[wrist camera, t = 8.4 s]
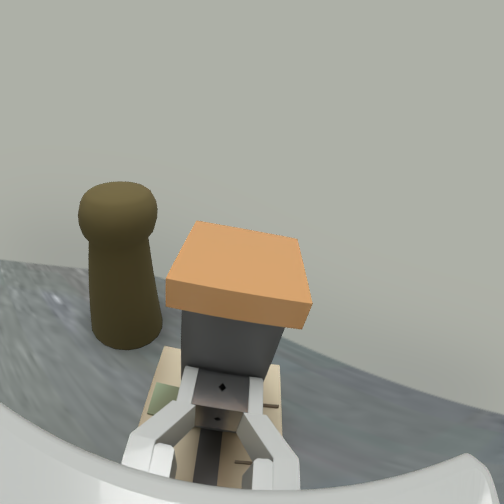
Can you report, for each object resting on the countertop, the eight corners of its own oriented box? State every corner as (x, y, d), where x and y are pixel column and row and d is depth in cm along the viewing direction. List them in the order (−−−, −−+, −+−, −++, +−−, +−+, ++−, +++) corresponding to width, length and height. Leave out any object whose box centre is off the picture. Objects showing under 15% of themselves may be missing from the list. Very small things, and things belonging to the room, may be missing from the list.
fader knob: (173, 428, 12) (166, 278, 7) (186, 373, 15) (196, 220, 11) (248, 440, 12) (312, 303, 7) (251, 383, 16) (297, 239, 11)
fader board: (113, 554, 5) (101, 555, 4) (165, 356, 18) (163, 336, 17) (275, 577, 5) (288, 582, 4) (275, 374, 18) (283, 356, 17)
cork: (106, 292, 22) (97, 171, 17) (168, 303, 23) (175, 178, 18) (80, 339, 17) (51, 199, 12) (154, 356, 18) (148, 209, 12)
